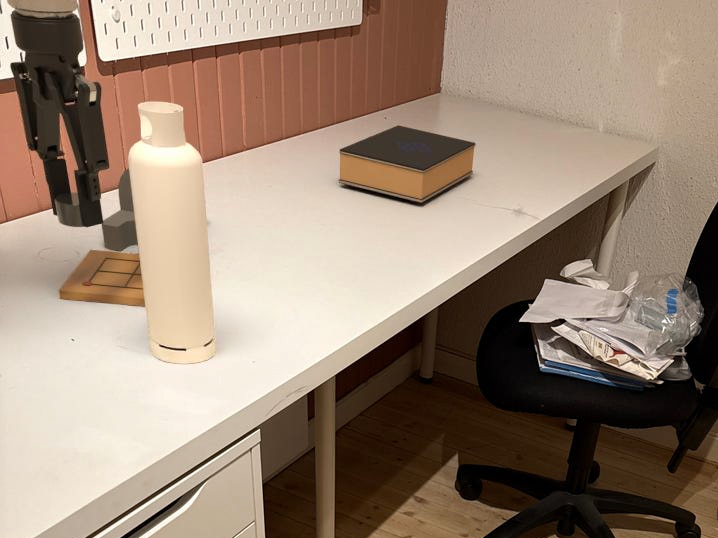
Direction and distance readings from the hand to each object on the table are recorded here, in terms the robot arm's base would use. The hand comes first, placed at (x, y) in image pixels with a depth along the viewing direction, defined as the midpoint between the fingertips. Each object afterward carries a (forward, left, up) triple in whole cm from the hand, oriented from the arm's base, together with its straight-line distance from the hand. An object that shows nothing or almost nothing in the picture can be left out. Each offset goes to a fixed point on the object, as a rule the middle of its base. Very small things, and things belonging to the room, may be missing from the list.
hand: (78, 218), depth 126 cm
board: (+5, +5, -10) cm, 12 cm away
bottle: (+16, -15, -10) cm, 24 cm away
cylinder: (0, 0, 0) cm, 0 cm away
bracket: (+4, +25, -10) cm, 27 cm away
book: (+43, +68, -10) cm, 81 cm away
